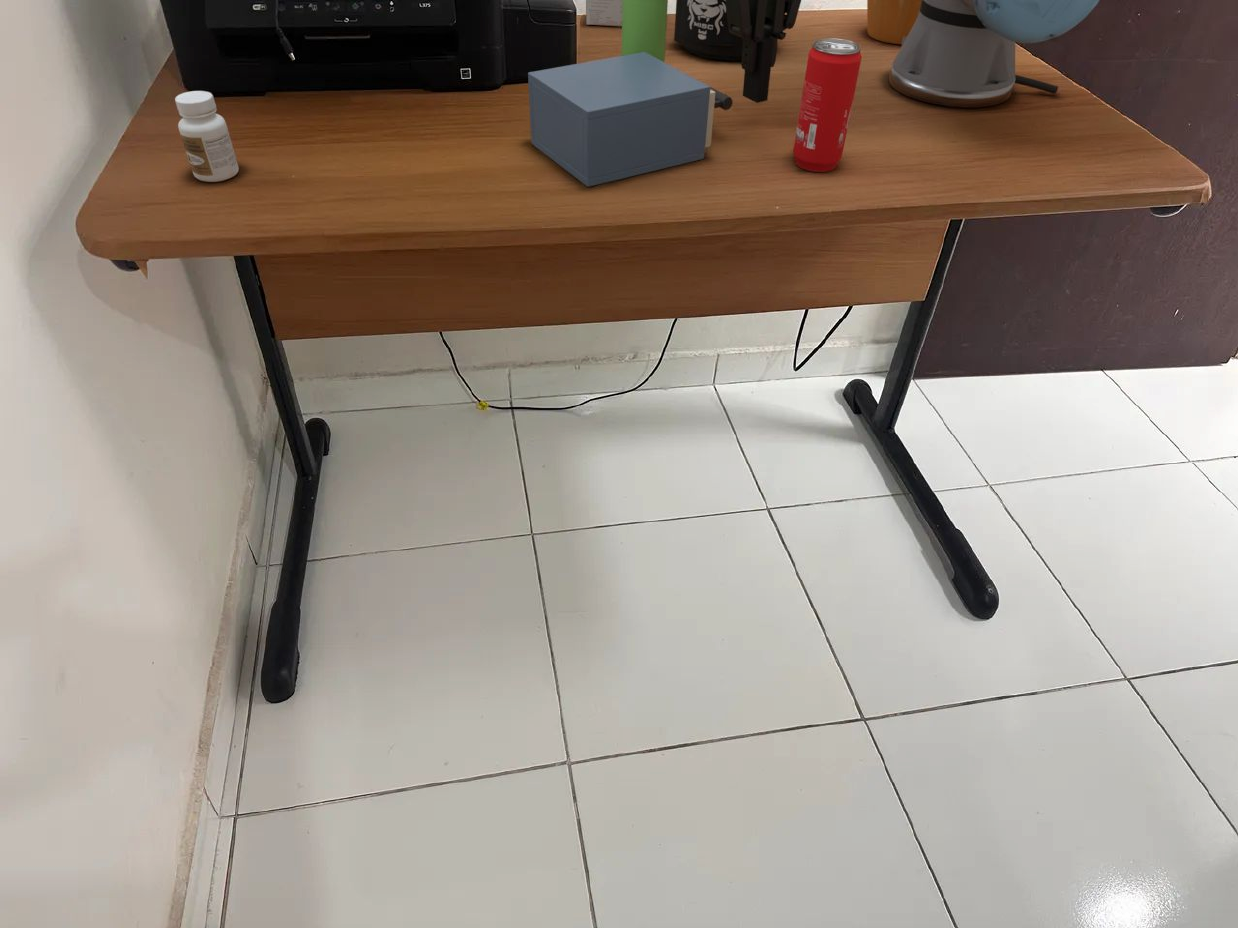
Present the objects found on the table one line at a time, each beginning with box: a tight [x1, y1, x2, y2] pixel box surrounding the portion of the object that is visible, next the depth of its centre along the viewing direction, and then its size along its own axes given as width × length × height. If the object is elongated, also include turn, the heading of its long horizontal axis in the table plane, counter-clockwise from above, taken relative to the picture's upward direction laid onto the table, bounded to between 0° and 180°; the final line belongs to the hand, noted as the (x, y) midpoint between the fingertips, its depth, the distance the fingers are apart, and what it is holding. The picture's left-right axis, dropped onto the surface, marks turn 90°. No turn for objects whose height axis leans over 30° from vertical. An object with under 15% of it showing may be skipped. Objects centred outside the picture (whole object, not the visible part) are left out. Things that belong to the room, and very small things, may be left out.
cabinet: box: [527, 52, 711, 188], centre depth 92 cm, size 15×13×8 cm
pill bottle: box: [174, 90, 240, 183], centre depth 86 cm, size 4×4×8 cm
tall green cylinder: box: [620, 0, 669, 63], centre depth 102 cm, size 5×5×15 cm
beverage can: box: [792, 37, 862, 173], centre depth 89 cm, size 5×5×12 cm
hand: (754, 98), depth 100 cm, fingers closed
